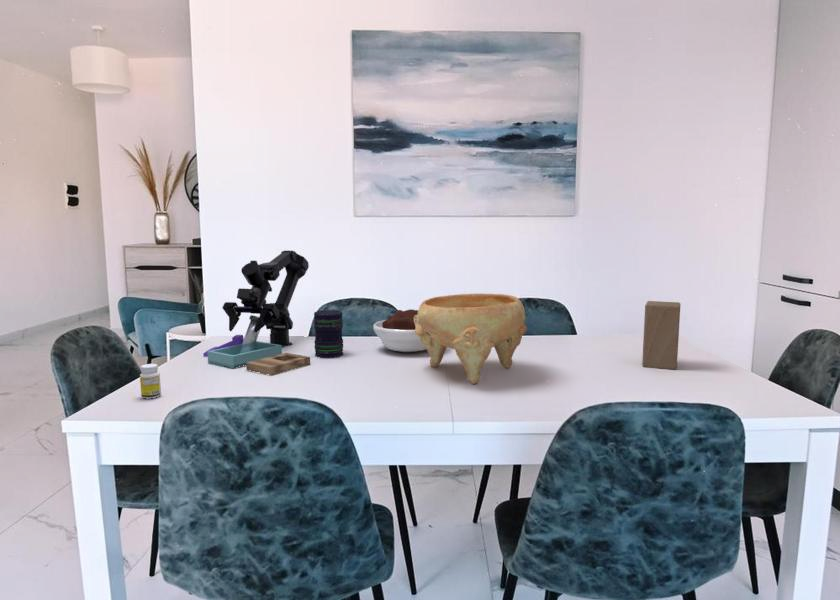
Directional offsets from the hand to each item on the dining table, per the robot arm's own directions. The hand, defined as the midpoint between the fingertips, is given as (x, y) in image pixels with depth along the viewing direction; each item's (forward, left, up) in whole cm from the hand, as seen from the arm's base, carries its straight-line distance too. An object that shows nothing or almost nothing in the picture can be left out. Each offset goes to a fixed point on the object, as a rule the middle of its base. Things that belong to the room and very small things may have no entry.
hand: (242, 331), depth 189 cm
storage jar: (-22, +17, -10) cm, 30 cm away
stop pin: (-1, -1, -8) cm, 8 cm away
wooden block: (-71, +115, -10) cm, 136 cm away
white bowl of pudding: (-44, +35, -10) cm, 58 cm away
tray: (-1, -1, -10) cm, 10 cm away
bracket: (-3, -14, -11) cm, 18 cm away
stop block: (-1, +16, -10) cm, 19 cm away
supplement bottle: (+40, +12, -10) cm, 43 cm away
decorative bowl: (-30, +68, -10) cm, 76 cm away
